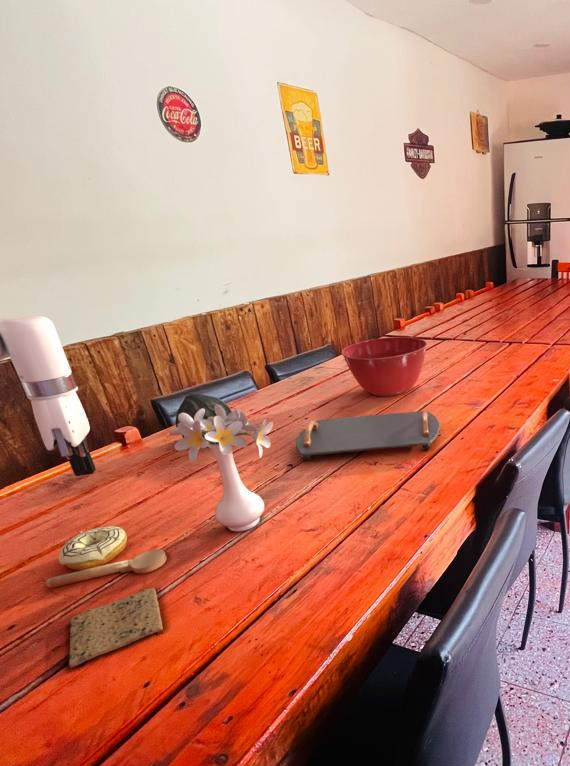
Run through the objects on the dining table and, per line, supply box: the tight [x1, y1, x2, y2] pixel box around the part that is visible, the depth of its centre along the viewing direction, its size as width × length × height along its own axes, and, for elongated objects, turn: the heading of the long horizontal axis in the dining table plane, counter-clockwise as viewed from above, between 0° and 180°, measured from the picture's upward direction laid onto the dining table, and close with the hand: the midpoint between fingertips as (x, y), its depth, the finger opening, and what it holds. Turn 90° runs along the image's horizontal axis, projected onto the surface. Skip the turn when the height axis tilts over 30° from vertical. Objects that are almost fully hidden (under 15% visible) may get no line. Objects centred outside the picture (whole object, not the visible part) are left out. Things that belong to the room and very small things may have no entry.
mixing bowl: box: [341, 336, 428, 397], centre depth 174 cm, size 28×28×16 cm
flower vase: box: [169, 404, 274, 532], centre depth 101 cm, size 13×18×25 cm
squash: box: [175, 393, 233, 442], centre depth 144 cm, size 14×15×15 cm
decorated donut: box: [58, 525, 128, 571], centre depth 97 cm, size 10×11×4 cm
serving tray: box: [295, 410, 441, 462], centre depth 139 cm, size 39×23×6 cm, turn 96°
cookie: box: [68, 587, 163, 669], centre depth 81 cm, size 12×12×1 cm
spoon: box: [45, 548, 167, 589], centre depth 93 cm, size 19×6×2 cm, turn 111°
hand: (85, 473), depth 102 cm, fingers closed
